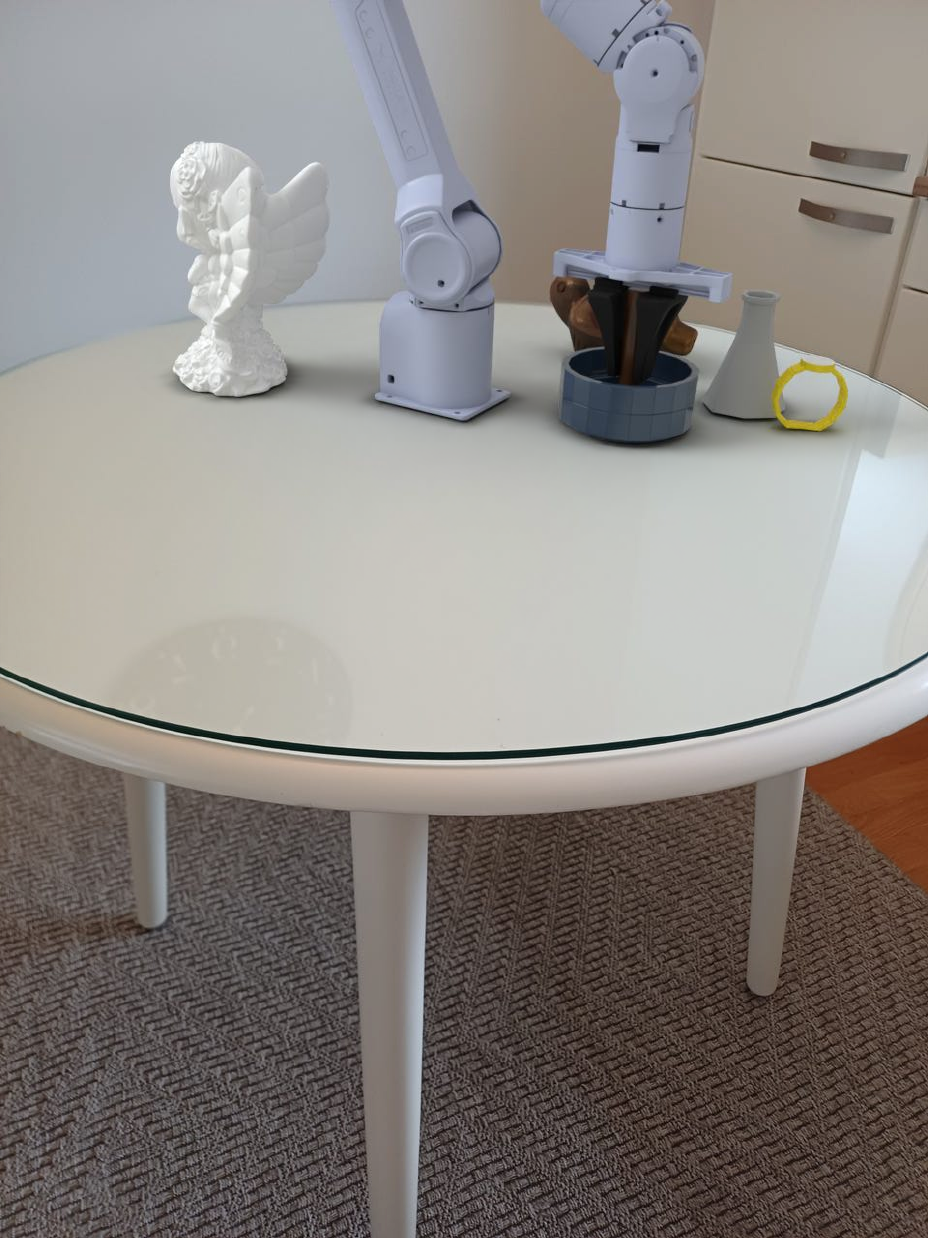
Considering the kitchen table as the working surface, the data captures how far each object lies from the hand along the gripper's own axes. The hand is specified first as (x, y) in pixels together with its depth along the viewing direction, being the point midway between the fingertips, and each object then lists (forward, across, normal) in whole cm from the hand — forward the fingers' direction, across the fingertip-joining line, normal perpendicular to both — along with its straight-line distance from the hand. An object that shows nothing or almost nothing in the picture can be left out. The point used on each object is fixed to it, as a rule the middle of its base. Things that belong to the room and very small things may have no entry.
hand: (629, 376), depth 90 cm
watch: (+4, +13, +8) cm, 16 cm away
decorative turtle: (+4, -8, +16) cm, 18 cm away
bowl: (+4, 0, 0) cm, 4 cm away
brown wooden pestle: (+3, 0, 0) cm, 3 cm away
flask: (+4, +7, +10) cm, 13 cm away
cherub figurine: (+4, -34, -9) cm, 35 cm away
